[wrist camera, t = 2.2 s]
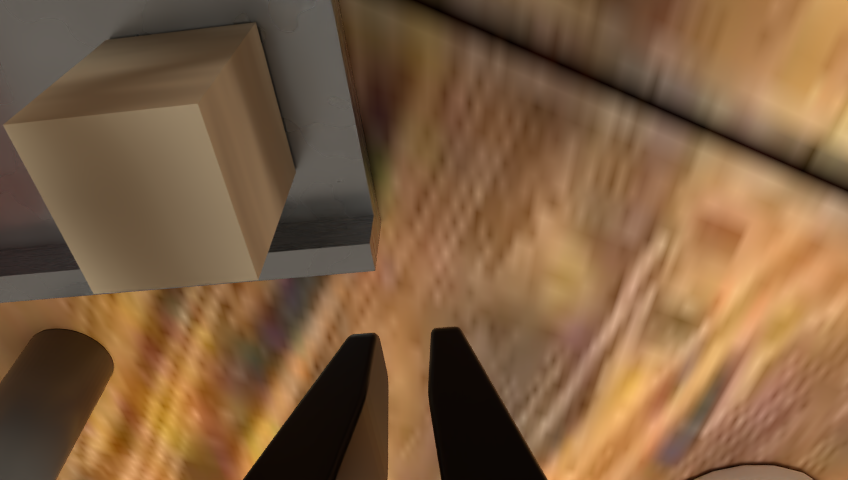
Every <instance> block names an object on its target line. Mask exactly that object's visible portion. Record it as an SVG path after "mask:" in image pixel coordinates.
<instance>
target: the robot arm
mask: <svg viewBox="0 0 848 480" xmlns="http://www.w3.org/2000/svg"><path fill="white" fill-rule="evenodd" d="M428 396H429V405H430V412H431V418H432V424H433V431H434V437H435V443H436V449H437V456H438V462H439V468H440V475H441V480H547V478H546V476H545V474H544V473H543V471H542V469H541V468H540V466H539V464H538V462H537V461H536V459H535V457H534V455H533V454H532V452H531V450H530V448H529V447H528V445H527V443H526V441H525V440H524V438H523V436H522V434H521V433H520V431H519V429H518V427H517V426H516V424H515V422H514V421H513V419H512V417H511V415H510V414H509V412H508V410H507V408H506V407H505V405H504V403H503V401H502V400H501V398H500V396H499V394H498V393H497V391H496V389H495V387H494V386H493V384H492V382H491V381H490V379H489V377H488V375H487V374H486V372H485V370H484V368H483V367H482V365H481V363H480V361H479V360H478V358H477V356H476V354H475V353H474V351H473V349H472V347H471V346H470V344H469V342H468V340H467V339H466V337H465V335H464V334H463V332H462V330H461V329H460V328H459V327H443V328H434V329H433V330H432V332H431V343H430V362H429V381H428ZM387 477H388V375H387V369H386V365H385V360H384V356H383V351H382V347H381V342H380V338H379V336H378V335H377V334H375V333H365V334H353V335H351V336H349V337H348V338H347V339H346V341H345V342H344V343H343V345H342V346H341V347H340V349H339V350H338V352H337V353H336V354H335V356H334V357H333V358H332V360H331V361H330V362H329V364H328V365H327V366H326V368H325V369H324V371H323V372H322V373H321V375H320V376H319V377H318V379H317V380H316V381H315V383H314V384H313V385H312V387H311V388H310V389H309V391H308V392H307V394H306V395H305V396H304V398H303V399H302V400H301V402H300V403H299V404H298V406H297V407H296V408H295V410H294V411H293V413H292V414H291V415H290V417H289V418H288V419H287V421H286V422H285V423H284V425H283V426H282V427H281V429H280V430H279V432H278V433H277V434H276V436H275V437H274V438H273V440H272V441H271V442H270V444H269V445H268V446H267V448H266V449H265V450H264V452H263V453H262V455H261V456H260V457H259V459H258V460H257V461H256V463H255V464H254V465H253V467H252V468H251V469H250V471H249V472H248V474H247V475H246V476H245V478H244V479H243V480H387Z"/></svg>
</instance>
